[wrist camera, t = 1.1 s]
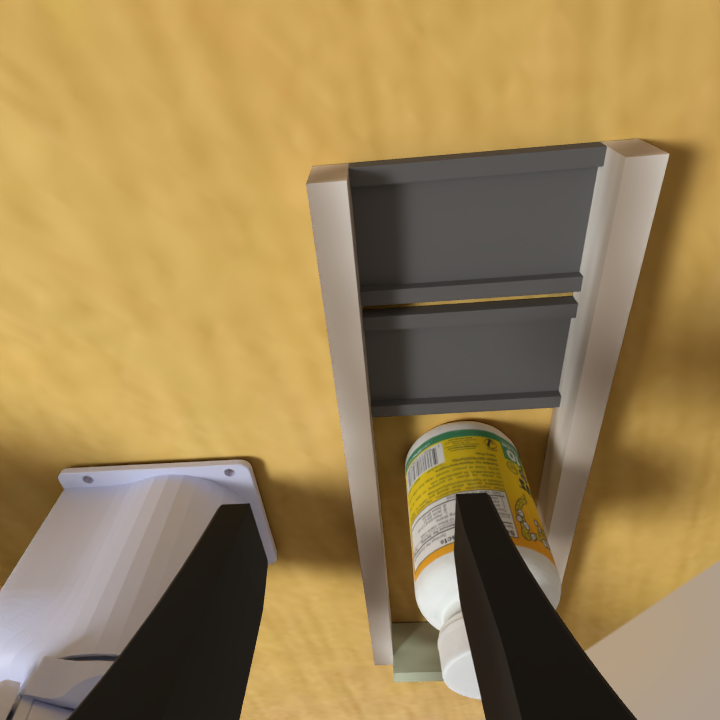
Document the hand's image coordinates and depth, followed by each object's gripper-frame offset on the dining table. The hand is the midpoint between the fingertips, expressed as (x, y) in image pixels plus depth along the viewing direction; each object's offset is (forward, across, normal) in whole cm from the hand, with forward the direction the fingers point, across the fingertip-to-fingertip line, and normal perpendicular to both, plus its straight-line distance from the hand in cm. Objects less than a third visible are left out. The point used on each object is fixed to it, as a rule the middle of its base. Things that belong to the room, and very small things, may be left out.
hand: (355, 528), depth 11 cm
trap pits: (+10, -4, 0) cm, 11 cm away
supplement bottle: (+11, -4, +9) cm, 14 cm away
